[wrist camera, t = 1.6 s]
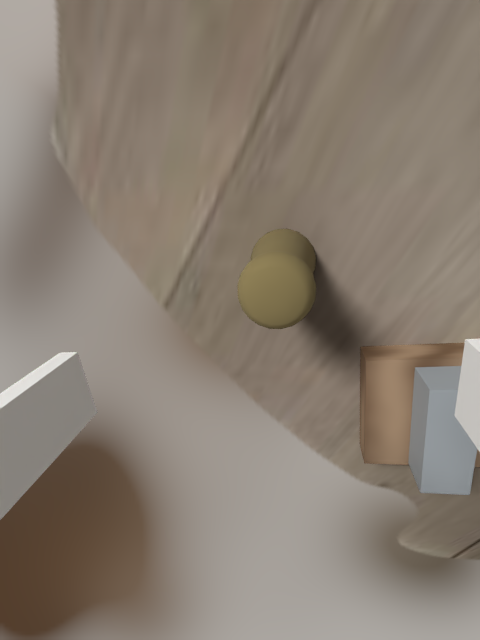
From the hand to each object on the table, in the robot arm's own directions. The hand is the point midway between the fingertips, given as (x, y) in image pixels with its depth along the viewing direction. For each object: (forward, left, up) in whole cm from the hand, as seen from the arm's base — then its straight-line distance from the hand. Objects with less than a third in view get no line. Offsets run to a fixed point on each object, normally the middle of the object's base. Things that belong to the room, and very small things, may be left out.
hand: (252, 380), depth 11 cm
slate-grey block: (-13, +15, -18) cm, 27 cm away
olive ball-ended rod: (0, 0, -21) cm, 21 cm away
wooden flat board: (-13, +15, -21) cm, 29 cm away
